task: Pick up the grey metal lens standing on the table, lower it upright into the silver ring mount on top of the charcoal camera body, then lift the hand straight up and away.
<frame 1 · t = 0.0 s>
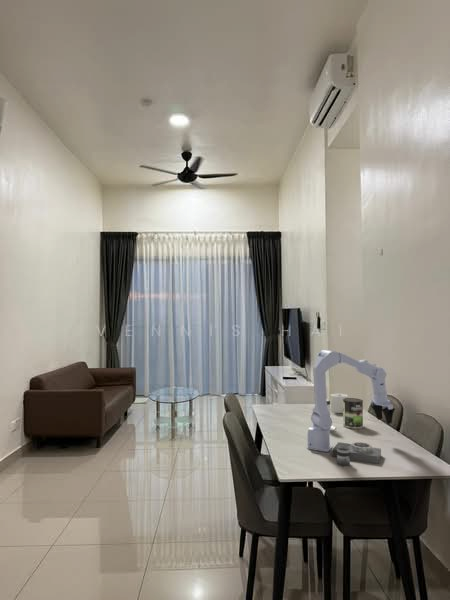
hand: (384, 421, 196), 11 cm above the table, tool pointing down, fingers open, 7 cm apart
panda figurine: (324, 427, 224), on the table
toilet tissue: (339, 411, 260), on the table
coffee can: (353, 426, 227), on the table
camera body: (356, 456, 179), on the table
lens: (343, 464, 170), on the table
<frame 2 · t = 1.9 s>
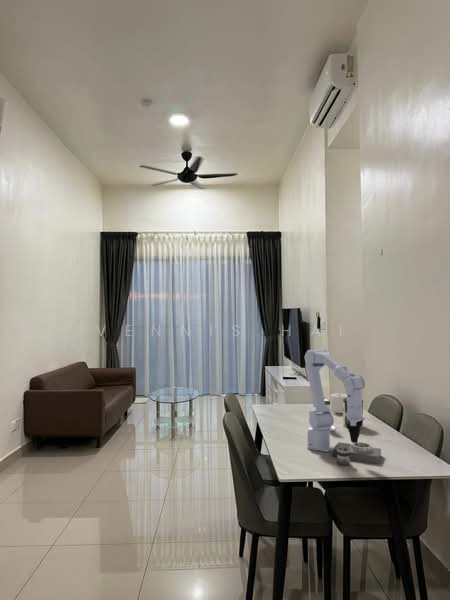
hand: (355, 439, 170), 10 cm above the table, tool pointing down, fingers open, 7 cm apart
nothing on the table moved.
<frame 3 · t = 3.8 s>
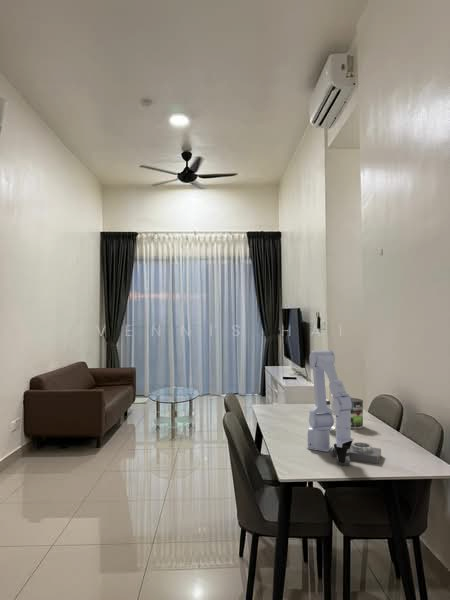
hand: (343, 460, 170), 1 cm above the table, tool pointing down, fingers closed on lens, 5 cm apart
lens: (343, 464, 170), on the table, touching gripper
everything else where it was.
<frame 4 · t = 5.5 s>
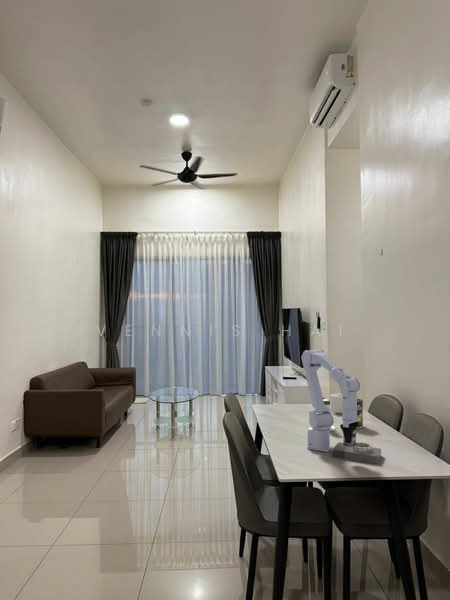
hand: (349, 440, 173), 8 cm above the table, tool pointing down, fingers closed on lens, 5 cm apart
lens: (349, 444, 173), point 7 cm above the table, touching gripper
everything else where it was.
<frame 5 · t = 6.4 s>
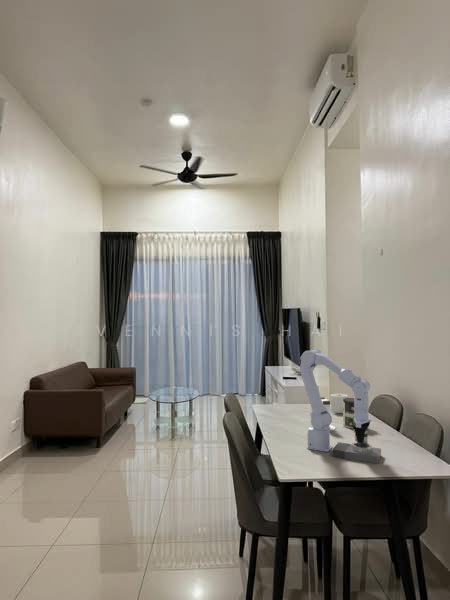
hand: (361, 440, 178), 7 cm above the table, tool pointing down, fingers closed on lens, 5 cm apart
lens: (361, 444, 178), point 5 cm above the table, touching gripper
everything else where it was.
when the fingers open (6 cm above the table, at t = 7.2 s): lens stays where it is, resting on camera body.
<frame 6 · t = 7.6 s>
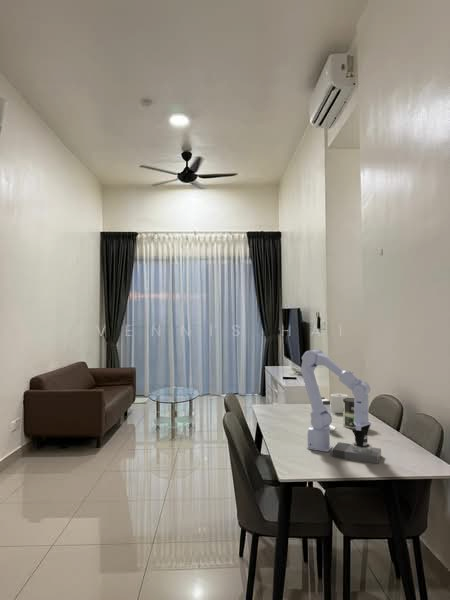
hand: (361, 443, 178), 6 cm above the table, tool pointing down, fingers open, 7 cm apart
lens: (361, 449, 178), point 3 cm above the table, touching camera body
everything else where it was.
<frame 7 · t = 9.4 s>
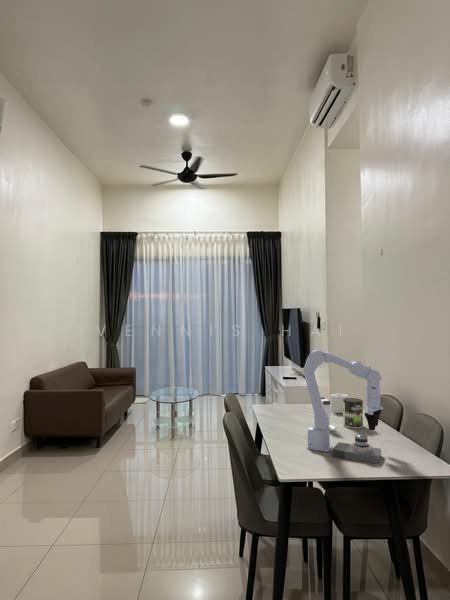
hand: (373, 427, 185), 10 cm above the table, tool pointing down, fingers open, 7 cm apart
nothing on the table moved.
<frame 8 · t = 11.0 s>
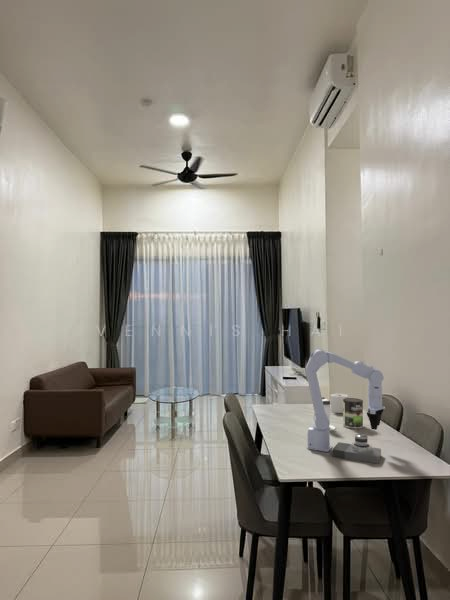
hand: (375, 427, 186), 10 cm above the table, tool pointing down, fingers open, 7 cm apart
nothing on the table moved.
at the end: lens 0.1 cm from the target spot on the camera body, point 3.0 cm above the camera body's base; lens tilted 0°; the gripper is holding nothing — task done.
